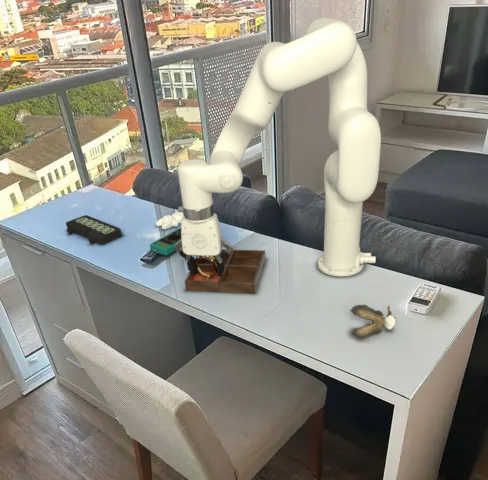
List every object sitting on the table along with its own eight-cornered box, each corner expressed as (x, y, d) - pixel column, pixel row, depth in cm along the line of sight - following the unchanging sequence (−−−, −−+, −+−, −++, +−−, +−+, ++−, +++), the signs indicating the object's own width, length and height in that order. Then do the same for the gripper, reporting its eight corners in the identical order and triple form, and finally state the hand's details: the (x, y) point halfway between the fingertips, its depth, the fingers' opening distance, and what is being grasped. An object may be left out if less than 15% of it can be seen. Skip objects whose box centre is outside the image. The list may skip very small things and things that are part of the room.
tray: (265, 259, 143) (265, 250, 141) (254, 293, 128) (254, 284, 126) (203, 257, 146) (202, 248, 145) (186, 290, 132) (184, 281, 130)
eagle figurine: (381, 312, 115) (346, 311, 113) (395, 299, 109) (358, 298, 107) (387, 342, 112) (350, 342, 111) (402, 331, 106) (363, 331, 104)
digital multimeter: (199, 238, 157) (197, 230, 156) (166, 257, 148) (164, 248, 147) (182, 233, 161) (181, 225, 160) (149, 251, 152) (148, 243, 150)
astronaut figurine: (152, 224, 169) (150, 215, 168) (182, 214, 175) (180, 205, 173) (164, 231, 164) (163, 223, 162) (194, 221, 169) (193, 212, 167)
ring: (193, 278, 134) (189, 252, 130) (200, 273, 136) (197, 247, 132) (214, 284, 131) (211, 257, 126) (221, 278, 133) (218, 252, 128)
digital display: (60, 222, 168) (85, 213, 173) (63, 231, 169) (87, 222, 175) (95, 238, 155) (121, 227, 161) (97, 247, 157) (123, 236, 163)
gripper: (161, 217, 121) (172, 278, 131) (229, 217, 118) (235, 281, 128) (170, 205, 127) (180, 265, 137) (235, 205, 124) (240, 267, 134)
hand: (206, 272), depth 133 cm, fingers closed on ring, 7 cm apart
